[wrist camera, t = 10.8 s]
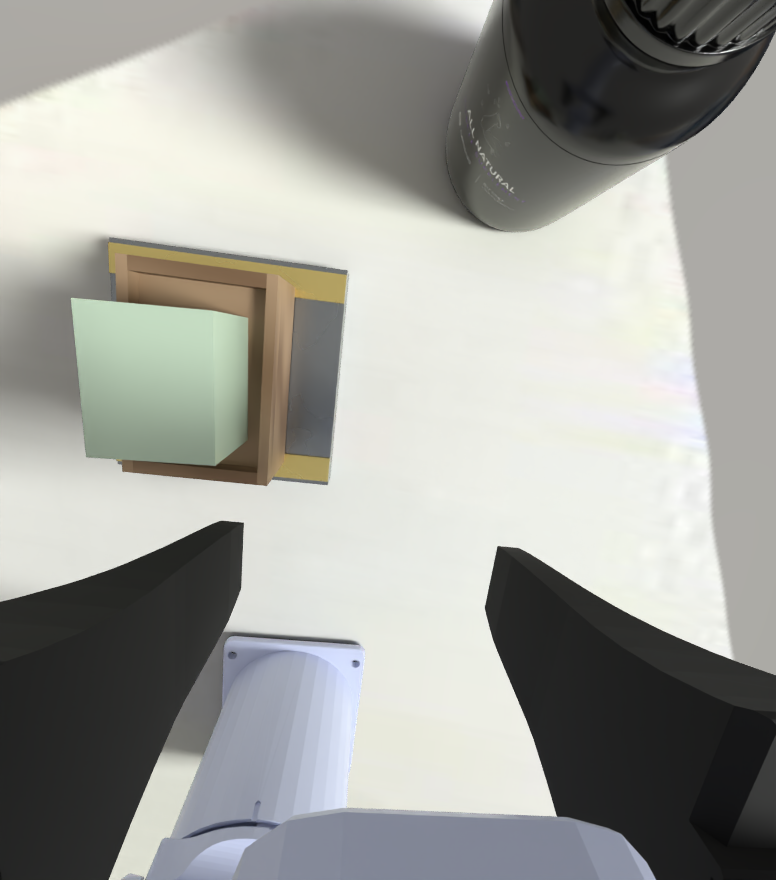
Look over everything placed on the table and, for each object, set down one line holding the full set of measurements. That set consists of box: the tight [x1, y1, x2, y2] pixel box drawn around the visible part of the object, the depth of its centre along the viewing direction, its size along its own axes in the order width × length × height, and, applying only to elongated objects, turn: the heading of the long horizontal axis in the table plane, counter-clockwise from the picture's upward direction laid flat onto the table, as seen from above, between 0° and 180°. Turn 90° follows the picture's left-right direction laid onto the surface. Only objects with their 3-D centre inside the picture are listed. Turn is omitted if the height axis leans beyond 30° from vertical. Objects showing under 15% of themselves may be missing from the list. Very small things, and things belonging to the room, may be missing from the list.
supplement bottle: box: [446, 0, 776, 232], centre depth 12 cm, size 7×7×12 cm
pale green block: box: [71, 298, 248, 466], centre depth 14 cm, size 5×4×4 cm
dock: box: [108, 237, 349, 485], centre depth 19 cm, size 10×10×1 cm
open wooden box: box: [115, 253, 295, 486], centre depth 16 cm, size 8×6×3 cm
